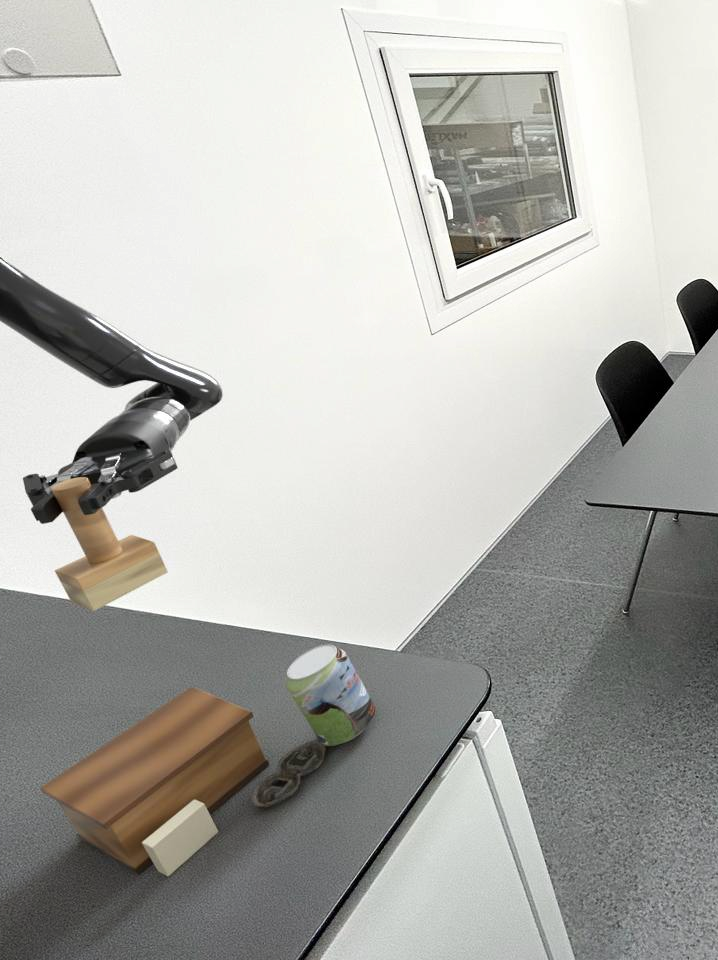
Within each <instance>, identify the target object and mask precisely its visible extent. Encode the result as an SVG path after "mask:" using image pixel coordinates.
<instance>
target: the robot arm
mask: <svg viewBox="0 0 718 960" xmlns="http://www.w3.org/2000/svg"><path fill="white" fill-rule="evenodd" d="M0 322H1V323H2V324H4V325H5V326H7V327H8V328H10V329H11V330H13V331H15V332H16V333H18V334H19V335H20V336H22V337H24V338H25V339H26V340H28V341H30V342H31V343H33V344H34V345H36V346H37V347H39V348H40V349H42V350H43V351H45V352H46V353H48V354H49V355H51V356H52V357H54V358H55V359H57V360H59V361H61V362H62V363H63V364H65V365H67V366H69V368H72V369H73V370H76V371H77V372H78V373H80V374H82V375H84V376H85V377H86V378H89V379H90V380H92V381H93V382H95V383H97V384H98V385H100V386H103V387H105V388H107V389H117V388H121V387H125V386H128V385H131V384H133V383H139V382H145V381H147V382H153V383H154V384H153V385H151V386H150V387H148V388H146V389H145V390H143V391H141V392H139V393H138V394H137V395H135V396H134V397H132V398H131V399H130V400H128V402H127V403H126V404H125V407H124V410H123V411H122V412H121V413H119V414H118V415H117V416H114V417H113V418H111V419H109V420H108V421H107V422H106V423H104V424H103V425H101V427H99V428H98V429H97V430H96V431H94V433H92V434H91V435H90V436H89V437H88V438H87V439H85V440H84V441H83V442H82V443H81V444H80V445H79V446H78V448H77V449H76V452H75V454H74V456H73V459H72V461H71V463H69V464H67V465H64V466H63V467H61V468H60V469H58V472H57V473H55V474H52V475H48V476H46V475H39V473H31V474H28V475H26V476H23V477H22V481H23V486H24V487H23V488H24V490H25V491H24V492H25V494H26V496H27V497H28V499H29V501H30V503H31V505H32V507H31V508H30V512H31V513H32V515H33V517H34V519H35V520H36V521H35V522H39V523H40V524H42V525H44V524H50V523H53V522H54V521H55V520H56V519H57V518H58V517H60V516H61V514H63V511H62V509H61V507H60V505H59V503H58V501H57V499H56V497H55V495H54V493H53V492H52V487H53V486H55V485H56V484H58V483H60V482H63V481H66V480H69V479H73V478H78V477H86V478H88V480H89V482H90V484H91V487H90V488H89V489H88V490H87V491H86V492H85V493H84V494H83V495H81V496H80V497H79V499H78V503H79V506H80V508H81V510H82V512H83V514H84V515H90V514H95V513H96V512H97V511H98V510H99V509H100V508H104V507H106V505H108V503H109V502H110V501H111V500H112V499H116V498H118V497H120V496H121V495H122V493H123V492H126V491H127V492H128V493H131V494H132V493H136V492H139V491H142V490H144V489H145V488H147V487H148V486H150V485H152V484H154V483H155V482H157V481H158V480H161V479H162V478H164V477H166V476H167V475H169V474H171V473H172V472H174V471H176V470H177V469H178V464H177V462H176V459H175V457H174V455H173V452H172V451H173V450H174V449H175V447H176V444H177V442H178V441H179V440H180V439H181V437H182V436H183V435H184V434H185V433H186V431H187V429H188V428H189V426H190V423H191V421H193V420H194V419H196V418H197V417H200V416H201V415H202V414H204V413H206V412H208V411H209V410H210V409H212V408H214V407H216V406H217V405H218V404H219V403H220V402H221V401H222V400H223V396H224V393H223V388H222V386H221V384H220V383H219V381H218V380H217V379H216V378H214V377H213V376H212V375H211V374H209V373H207V372H205V371H203V370H201V369H199V368H196V367H194V366H191V365H189V364H186V363H183V362H180V361H177V360H175V359H173V358H170V357H167V356H165V355H162V354H160V353H158V352H155V351H154V350H151V349H149V348H147V347H145V346H144V345H142V344H141V343H139V342H137V341H136V339H135V340H134V339H133V338H132V337H131V336H129V335H127V334H126V333H124V332H122V331H121V330H120V329H118V328H117V327H115V326H114V325H112V324H111V323H109V322H108V321H106V320H104V319H103V318H102V317H99V316H97V315H96V314H94V313H92V312H91V311H89V310H87V309H85V308H83V307H82V306H80V305H78V304H76V303H75V302H72V301H71V300H69V299H67V298H65V297H63V296H62V295H60V294H58V293H57V292H54V291H53V290H51V289H49V288H47V287H46V286H45V285H44V284H41V283H40V282H38V281H37V280H35V279H34V278H31V277H30V276H29V275H27V274H26V273H24V272H23V271H21V269H19V268H17V267H16V266H15V265H13V264H12V263H11V262H10V261H8V260H7V259H5V257H3V256H2V255H1V254H0Z"/></svg>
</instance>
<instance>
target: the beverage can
mask: <svg viewBox="0 0 718 960" xmlns="http://www.w3.org/2000/svg"><path fill="white" fill-rule="evenodd" d="M286 676H287V678H286V681H285V685H286V689H287V691H288V692H289V694H290V695H291V697H292V699H293V700H294V702H295V704H296V705H297V707H298V709H299V711H300V712H301V713H302V715H303V717H304V718H305V720H306V721H307V723H308V724H309V726H310V728H311V730H312V731H313V733H314V734H315V736H316V737H317V740H319V741H320V742H321V744H323V745H325V747H333V746H339V745H341V744H344V743H347V742H349V741H351V740H353V739H355V738H356V737H357V736H359V735H360V734H361V733H362V732H364V730H365V729H366V728H367V727H368V726H369V724H370V723H371V722H372V720H373V719H374V716H375V713H376V706H375V704H374V702H373V700H372V698H371V696H370V695H369V693H368V690H367V689H366V687H365V685H364V683H363V682H362V679H361V678H360V676H359V675H358V672H357V671H356V669H355V667H354V665H353V663H352V662H351V660H350V658H349V656H348V655H347V653H346V652H345V650H343V649H341V648H338V647H336V646H335V645H333V644H321V645H318V646H315V647H314V648H313V647H312V648H311V649H309V650H307V651H305V652H304V653H302V654H301V655H300V656H298V657H297V658H296V659H295V660H293V662H292V663H291V664H290V666H289V667H288V668H287V671H286Z"/></svg>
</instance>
